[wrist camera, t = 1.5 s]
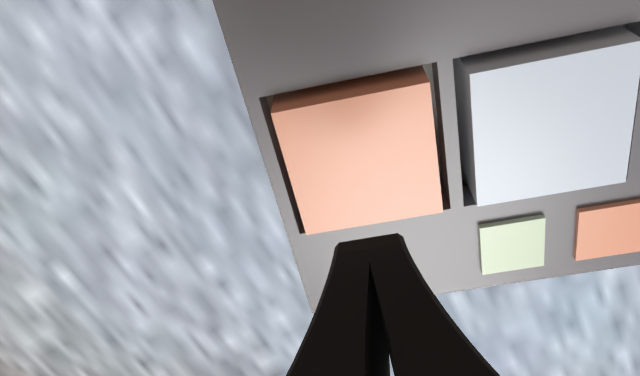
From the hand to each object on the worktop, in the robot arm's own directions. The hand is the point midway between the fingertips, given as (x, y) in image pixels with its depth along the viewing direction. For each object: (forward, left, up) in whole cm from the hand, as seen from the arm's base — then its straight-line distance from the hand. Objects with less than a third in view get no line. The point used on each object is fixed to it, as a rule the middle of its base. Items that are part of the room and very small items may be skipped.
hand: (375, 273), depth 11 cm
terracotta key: (0, 0, -7) cm, 7 cm away
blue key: (-5, 0, -7) cm, 8 cm away
